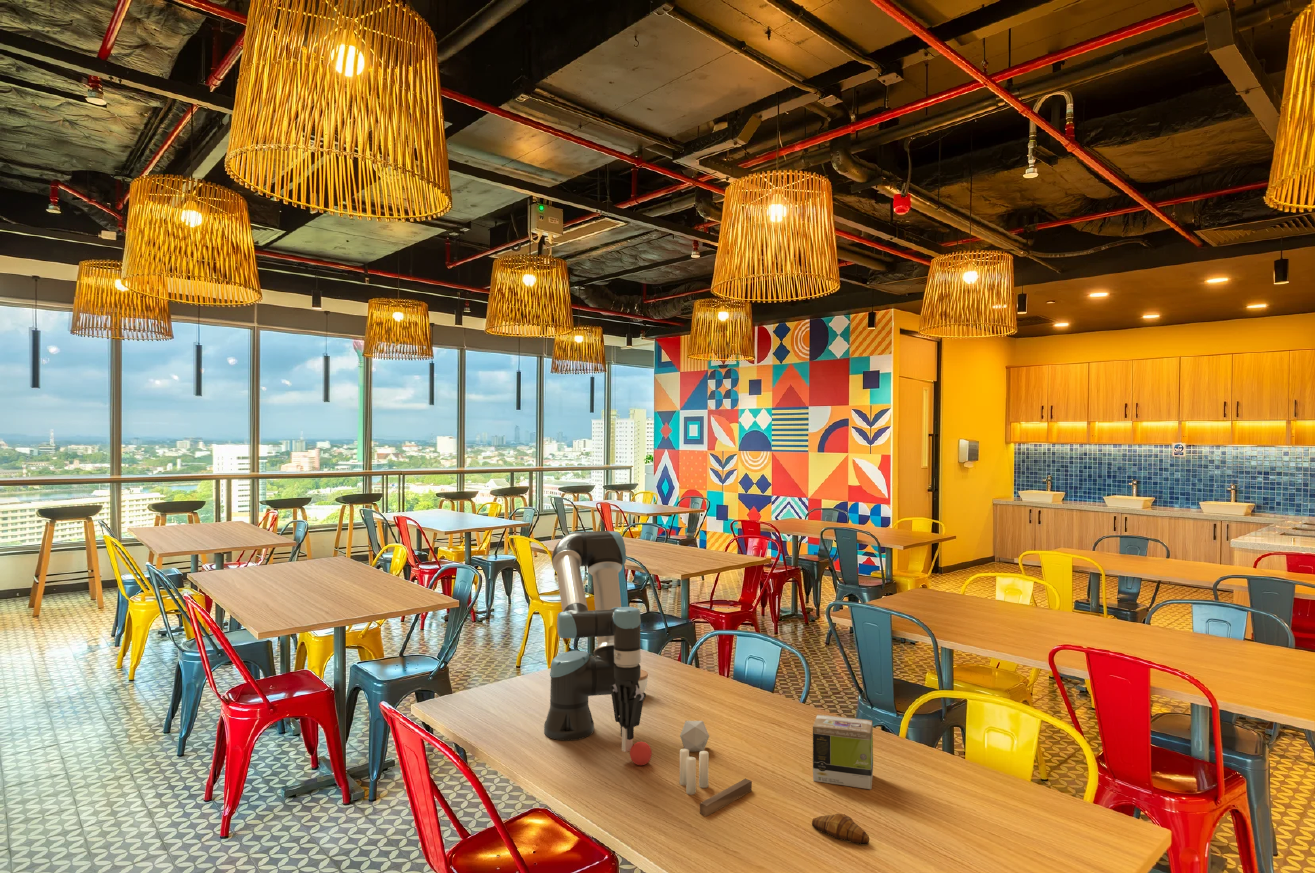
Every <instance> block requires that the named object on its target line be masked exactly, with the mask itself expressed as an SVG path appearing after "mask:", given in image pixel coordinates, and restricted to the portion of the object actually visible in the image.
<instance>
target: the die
mask: <svg viewBox="0 0 1315 873" xmlns="http://www.w3.org/2000/svg"><path fill="white" fill-rule="evenodd" d="M679 737H680V739H681V742H682V745H683V747H684V748H683V749H688V750H689V752H700V751H705V749H706V746H707V744H708V741H709V738H710V735H709V732H708V730H707V727H706V725H705V722H704V720H685V721H684V724H683V727H682V730H681V732H680V735H679Z"/></svg>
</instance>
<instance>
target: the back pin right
mask: <svg viewBox="0 0 1315 873" xmlns="http://www.w3.org/2000/svg"><path fill="white" fill-rule="evenodd" d="M696 778H697V758H696V757H694V756H689V757H687V759H686V785H685V788H686V789H685V792H686V794H687V795H695V794H696V793H697V792H696V791H697V788H696V787H697V785H696V784H697V779H696Z"/></svg>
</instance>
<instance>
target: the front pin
mask: <svg viewBox="0 0 1315 873" xmlns="http://www.w3.org/2000/svg"><path fill="white" fill-rule="evenodd" d="M687 757H690V751H689V750H688V749H685V748H681V749H679V784H680V786H686V759H687Z"/></svg>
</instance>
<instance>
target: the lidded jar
mask: <svg viewBox="0 0 1315 873" xmlns="http://www.w3.org/2000/svg"><path fill="white" fill-rule="evenodd" d="M648 677H649V673H648V671H646V670H644V669H641V676H640V678H639V680H638V683H639V690H640V691H641V692H642V693H645V691H646V689H647V686H648Z"/></svg>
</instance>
